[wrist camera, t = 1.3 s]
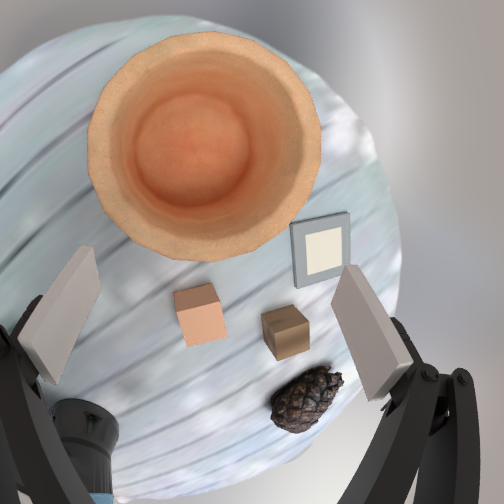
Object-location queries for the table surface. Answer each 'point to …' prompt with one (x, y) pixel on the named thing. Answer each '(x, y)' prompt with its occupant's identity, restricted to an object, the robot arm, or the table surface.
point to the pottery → (204, 146)
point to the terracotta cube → (200, 315)
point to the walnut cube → (286, 332)
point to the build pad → (320, 248)
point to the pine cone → (305, 399)
